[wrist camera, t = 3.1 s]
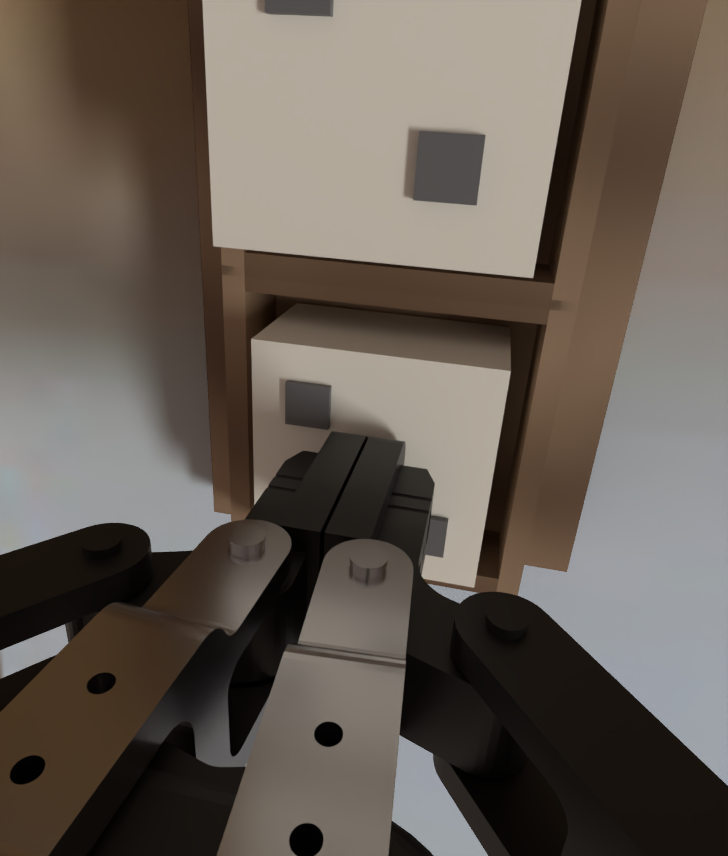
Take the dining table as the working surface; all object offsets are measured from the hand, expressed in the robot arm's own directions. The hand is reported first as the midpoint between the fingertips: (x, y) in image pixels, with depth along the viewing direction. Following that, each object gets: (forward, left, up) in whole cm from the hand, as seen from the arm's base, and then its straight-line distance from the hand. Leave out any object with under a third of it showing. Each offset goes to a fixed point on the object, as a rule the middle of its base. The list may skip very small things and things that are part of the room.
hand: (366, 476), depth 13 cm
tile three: (0, 0, -3) cm, 3 cm away
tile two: (-7, 0, -2) cm, 7 cm away
